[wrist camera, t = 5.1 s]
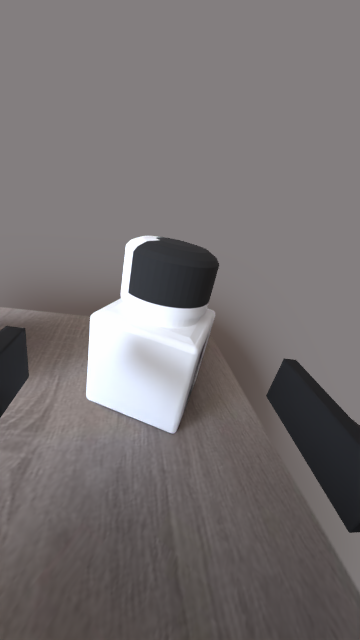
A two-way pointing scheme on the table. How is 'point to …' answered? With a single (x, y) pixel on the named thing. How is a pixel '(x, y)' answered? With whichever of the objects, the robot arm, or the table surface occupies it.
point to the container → (153, 332)
